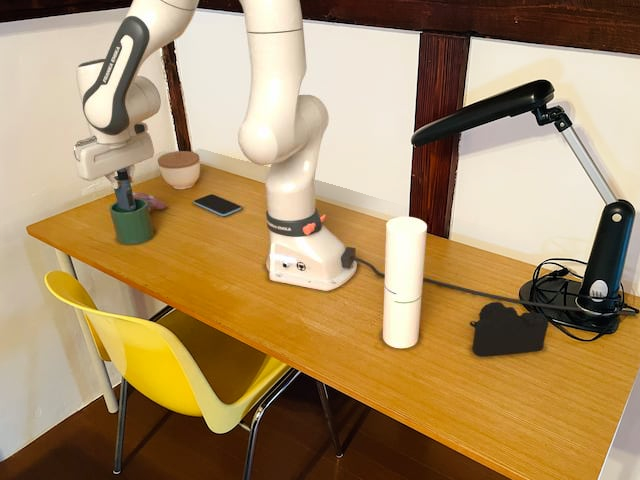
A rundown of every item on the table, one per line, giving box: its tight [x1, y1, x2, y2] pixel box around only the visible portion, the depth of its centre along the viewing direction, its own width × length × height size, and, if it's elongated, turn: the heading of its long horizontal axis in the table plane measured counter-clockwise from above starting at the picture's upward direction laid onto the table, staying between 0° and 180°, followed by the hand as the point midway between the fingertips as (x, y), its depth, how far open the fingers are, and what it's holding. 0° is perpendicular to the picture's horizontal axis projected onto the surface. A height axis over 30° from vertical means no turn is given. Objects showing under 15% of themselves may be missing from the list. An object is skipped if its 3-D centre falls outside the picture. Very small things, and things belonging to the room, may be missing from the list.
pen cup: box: [108, 198, 155, 246], centre depth 140 cm, size 9×9×9 cm
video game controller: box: [132, 192, 167, 213], centre depth 155 cm, size 10×5×7 cm, turn 73°
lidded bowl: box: [157, 150, 201, 190], centre depth 169 cm, size 13×13×11 cm
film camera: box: [469, 301, 550, 358], centre depth 104 cm, size 15×10×9 cm, turn 98°
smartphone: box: [193, 193, 243, 217], centre depth 158 cm, size 7×1×15 cm
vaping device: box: [113, 168, 136, 211], centre depth 135 cm, size 3×5×12 cm, turn 58°
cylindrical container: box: [382, 216, 428, 349], centre depth 100 cm, size 7×7×25 cm
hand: (123, 185), depth 135 cm, fingers closed on vaping device, 2 cm apart
